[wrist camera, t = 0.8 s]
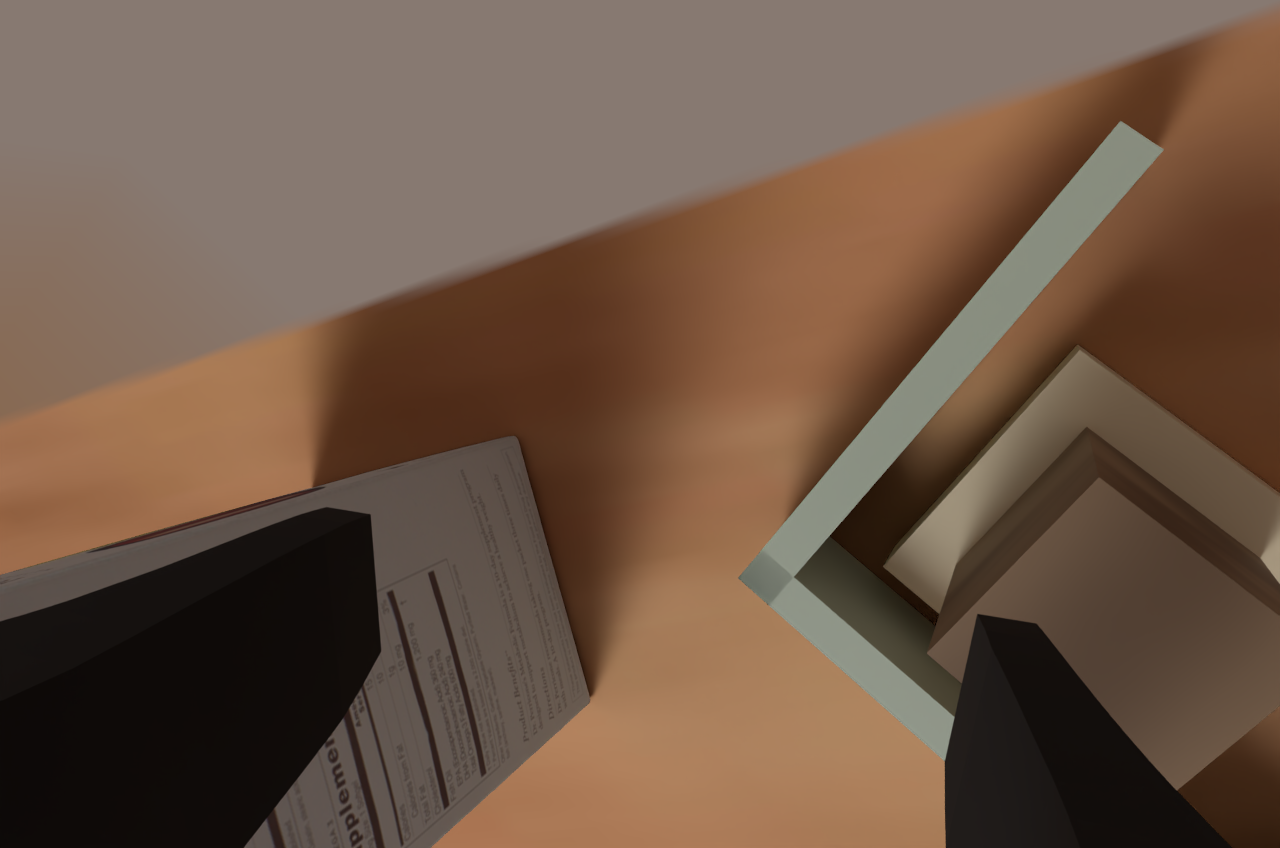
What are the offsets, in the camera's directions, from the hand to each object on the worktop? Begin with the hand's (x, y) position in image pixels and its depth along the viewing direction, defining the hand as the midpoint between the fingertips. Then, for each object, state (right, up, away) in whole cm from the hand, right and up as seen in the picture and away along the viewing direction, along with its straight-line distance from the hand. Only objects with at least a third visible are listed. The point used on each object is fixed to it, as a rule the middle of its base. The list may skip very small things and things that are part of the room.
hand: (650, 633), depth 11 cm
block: (+11, -1, +11) cm, 15 cm away
